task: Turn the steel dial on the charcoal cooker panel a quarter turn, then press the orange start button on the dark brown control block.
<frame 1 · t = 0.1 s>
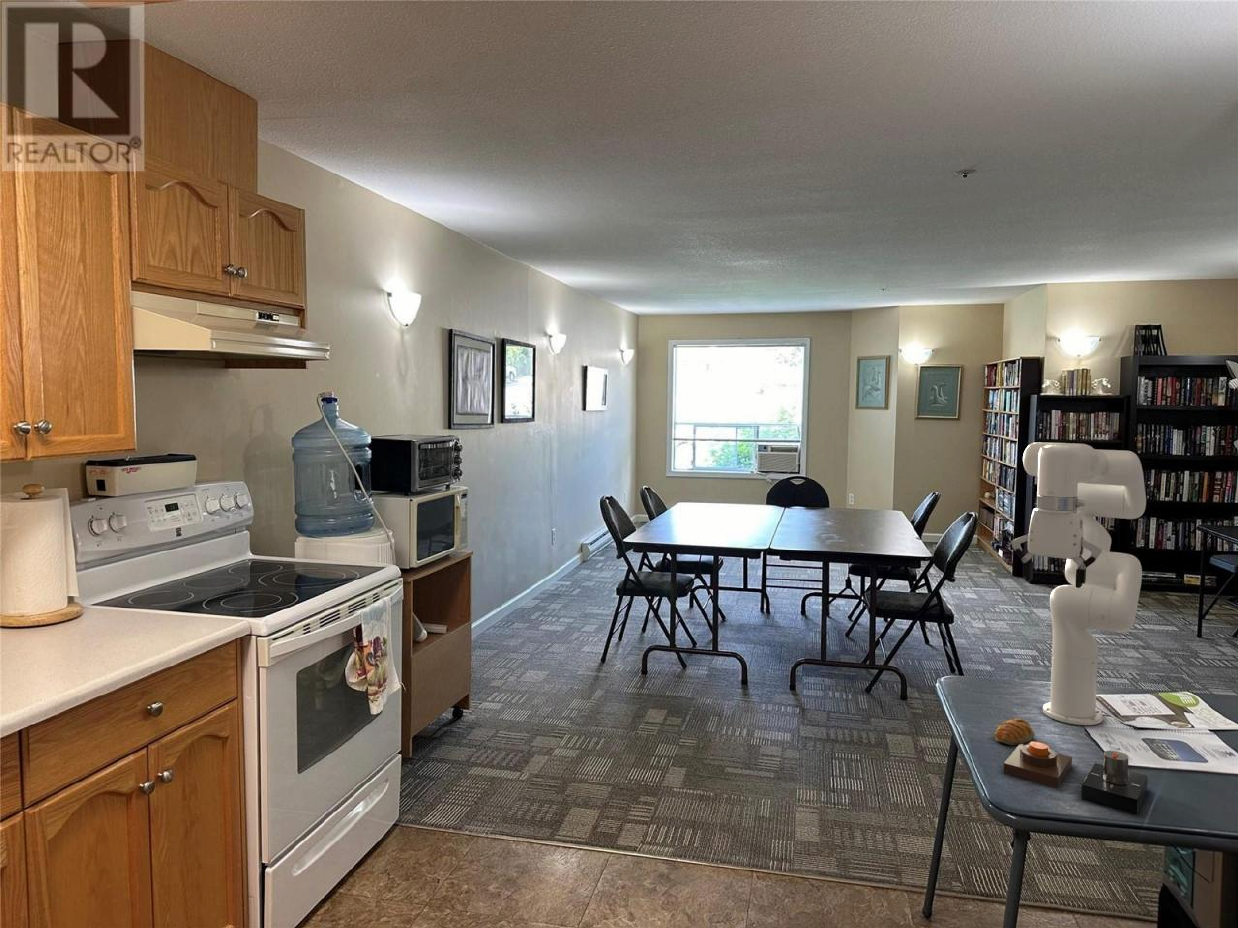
hand: (1053, 583, 174), 37 cm above the table, tool pointing down, fingers open, 9 cm apart
dial panel: (1114, 795, 157), on the table
start button: (1038, 749, 167), point 4 cm above the table, slide at 0.1 cm
dial: (1115, 766, 157), point 6 cm above the table, hinge at 0.0°
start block: (1037, 770, 168), on the table
pastry: (1013, 739, 183), on the table
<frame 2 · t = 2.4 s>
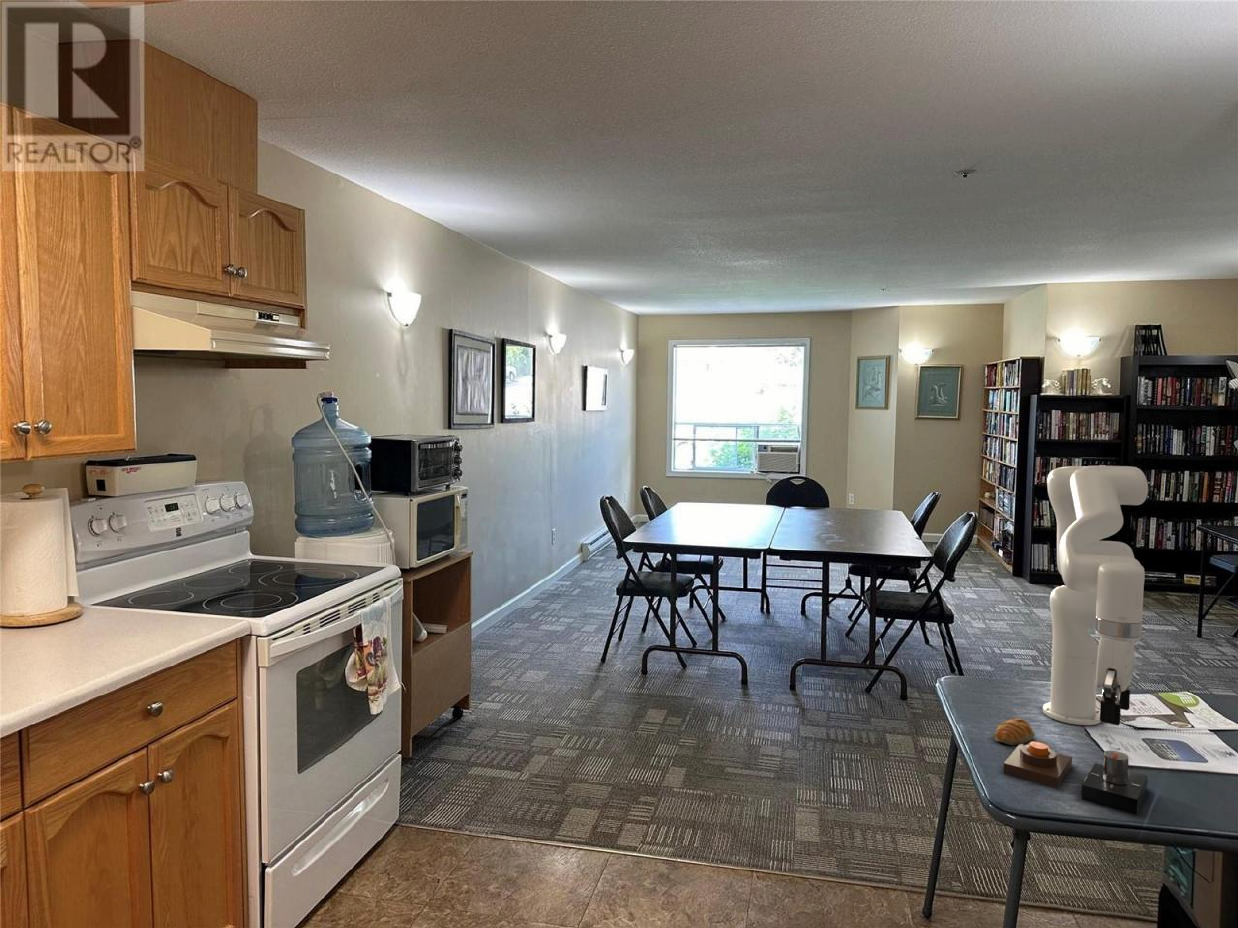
hand: (1114, 715, 157), 16 cm above the table, tool pointing down, fingers open, 9 cm apart
nothing on the table moved.
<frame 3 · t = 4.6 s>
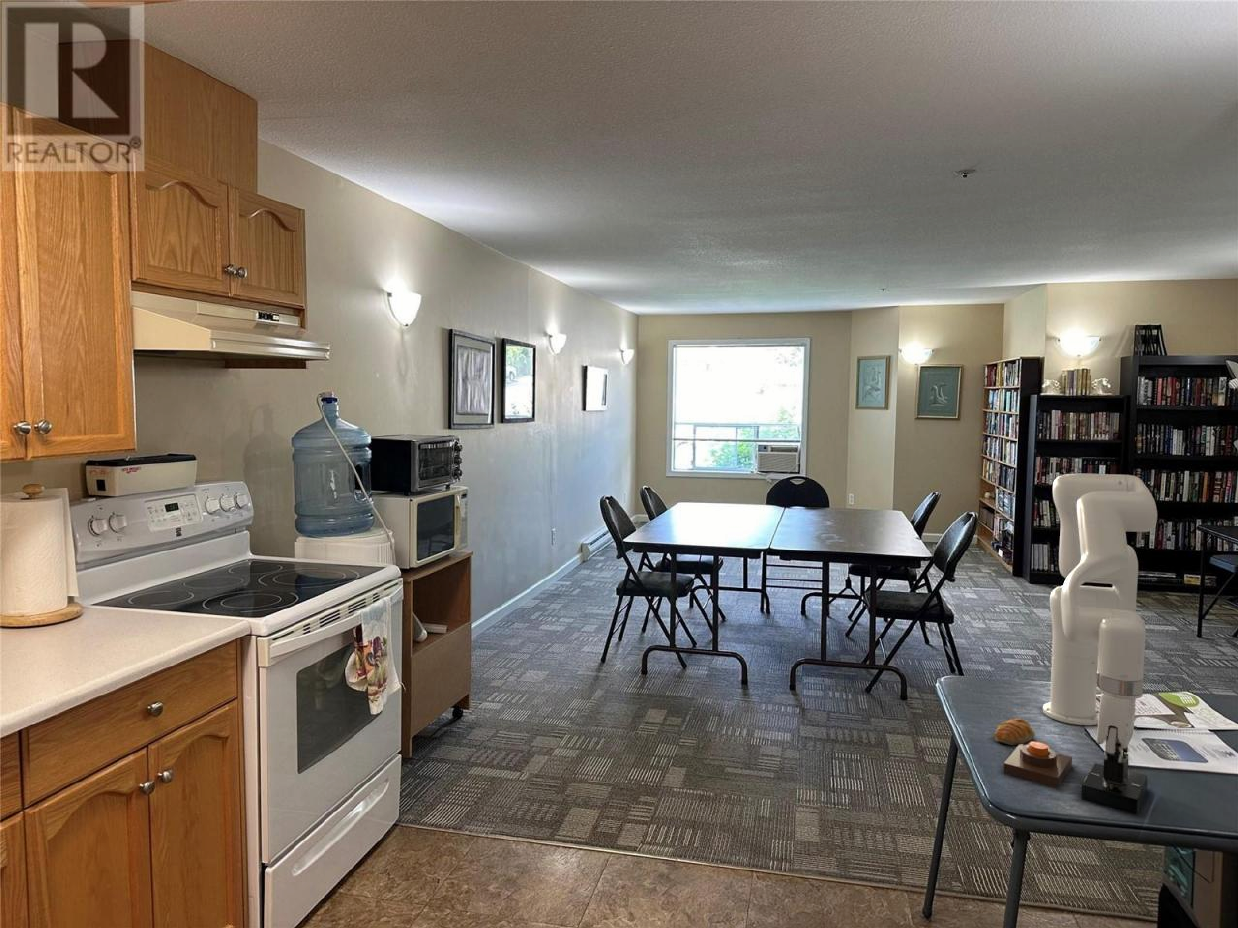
hand: (1115, 775, 157), 4 cm above the table, tool pointing down, fingers closed on dial, 4 cm apart
dial: (1115, 766, 157), point 6 cm above the table, hinge at -0.1°, touching gripper
everything else where it was.
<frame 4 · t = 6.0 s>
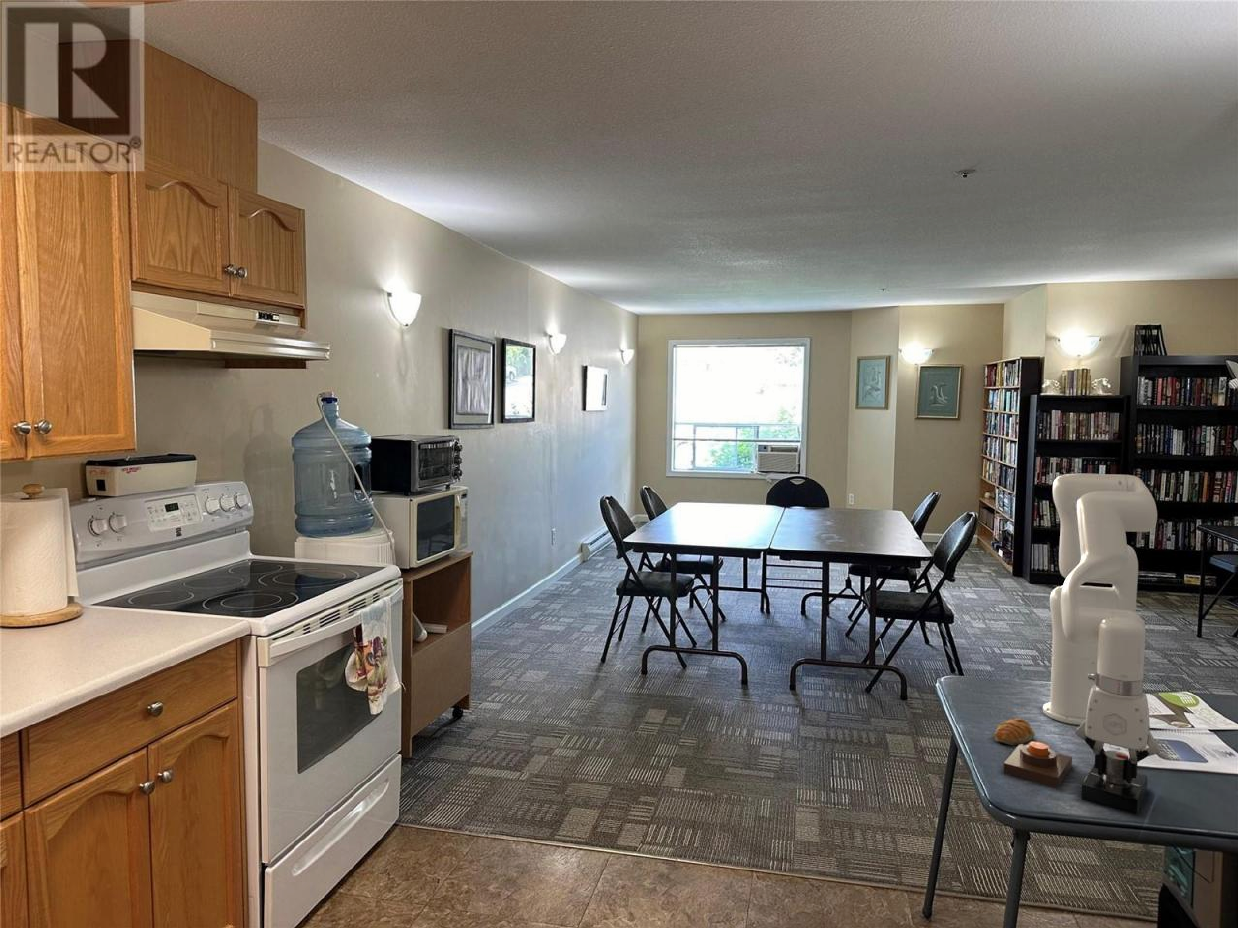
hand: (1115, 775, 157), 4 cm above the table, tool pointing down, fingers closed on dial, 4 cm apart
dial: (1115, 766, 157), point 6 cm above the table, hinge at 90.0°, touching gripper
everything else where it was.
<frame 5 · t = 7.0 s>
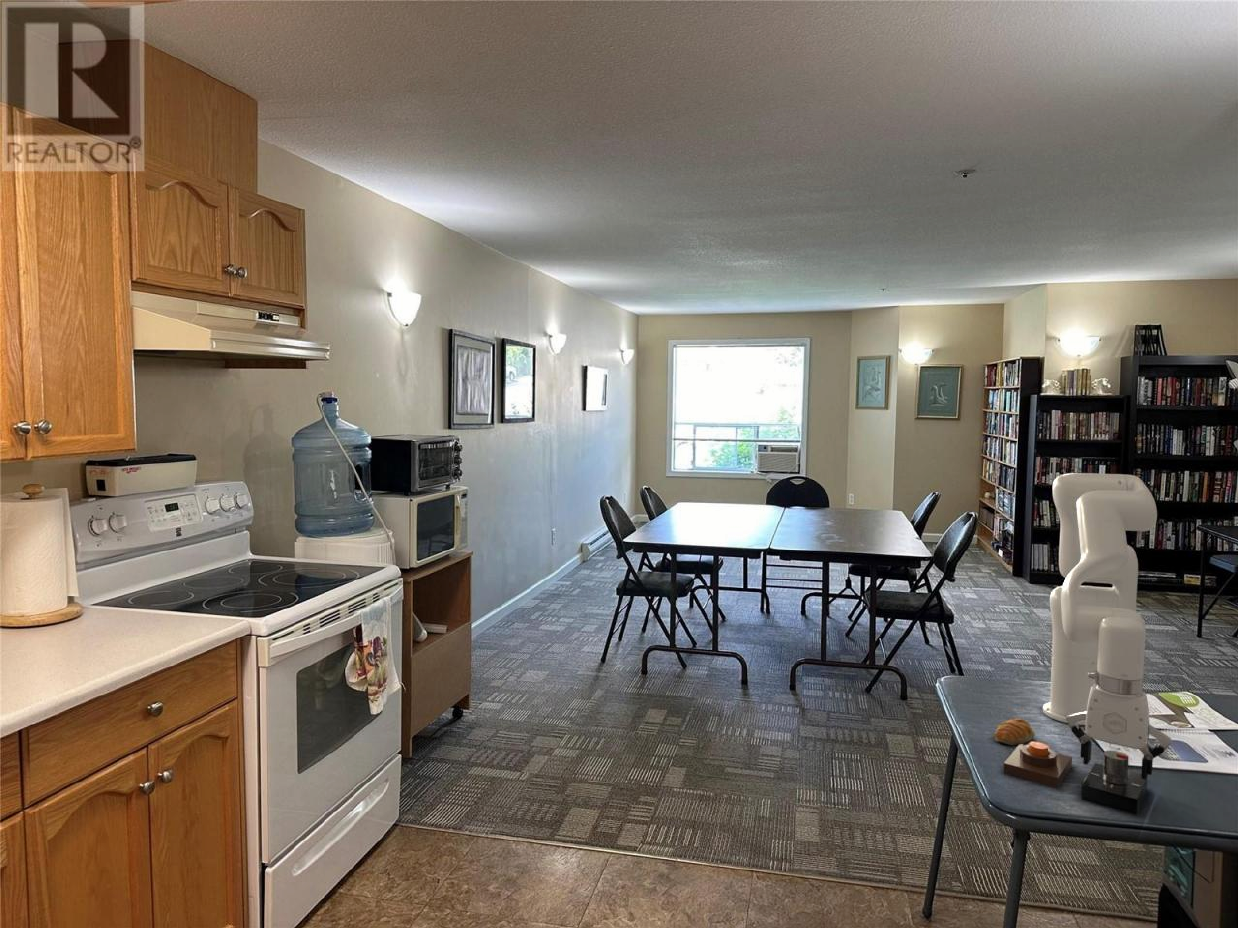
hand: (1115, 769, 157), 5 cm above the table, tool pointing down, fingers open, 9 cm apart
dial: (1115, 766, 157), point 6 cm above the table, hinge at 91.5°
everything else where it was.
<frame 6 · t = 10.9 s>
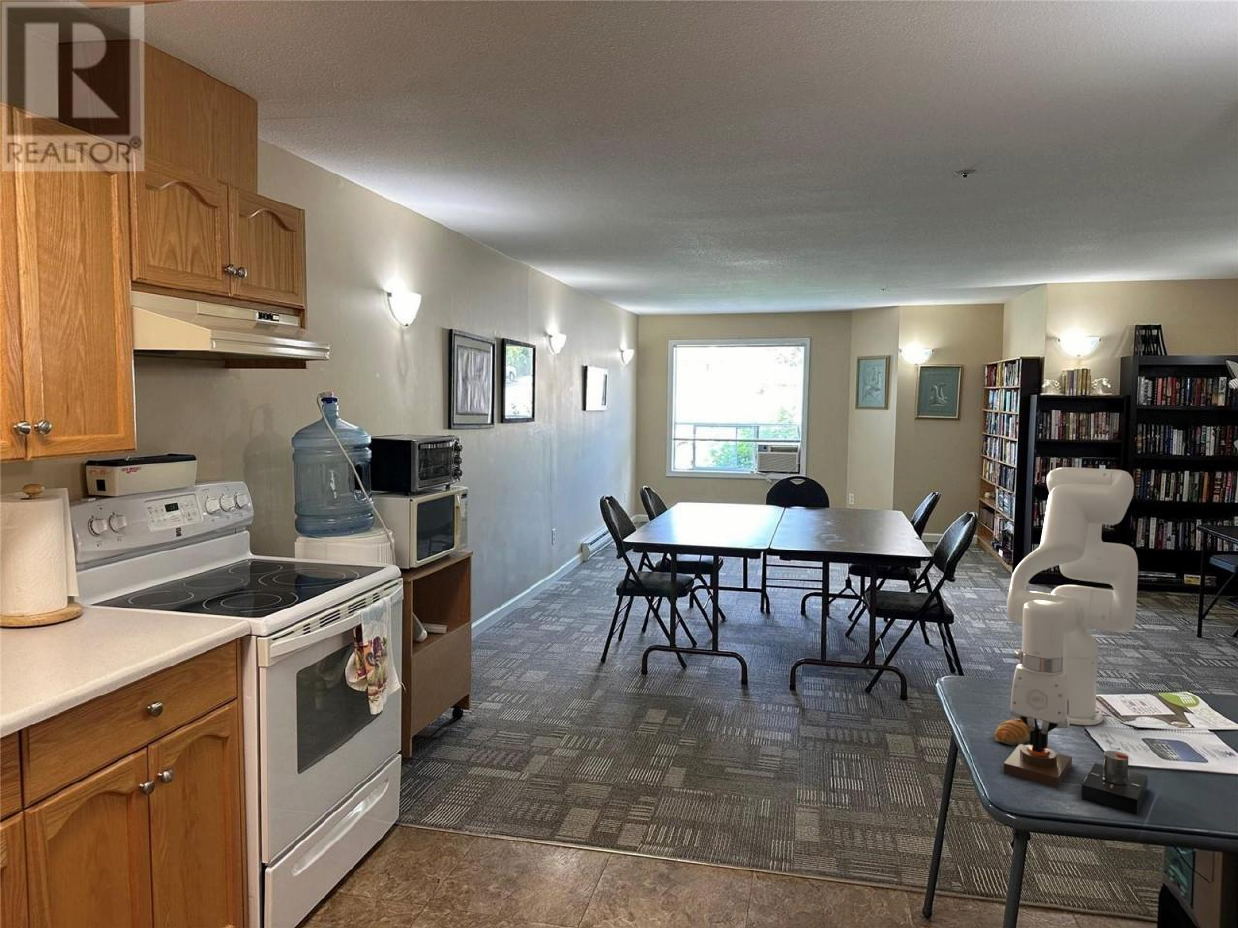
hand: (1038, 749, 167), 5 cm above the table, tool pointing down, fingers closed
start button: (1038, 753, 168), point 4 cm above the table, slide at -0.8 cm, touching gripper
everything else where it was.
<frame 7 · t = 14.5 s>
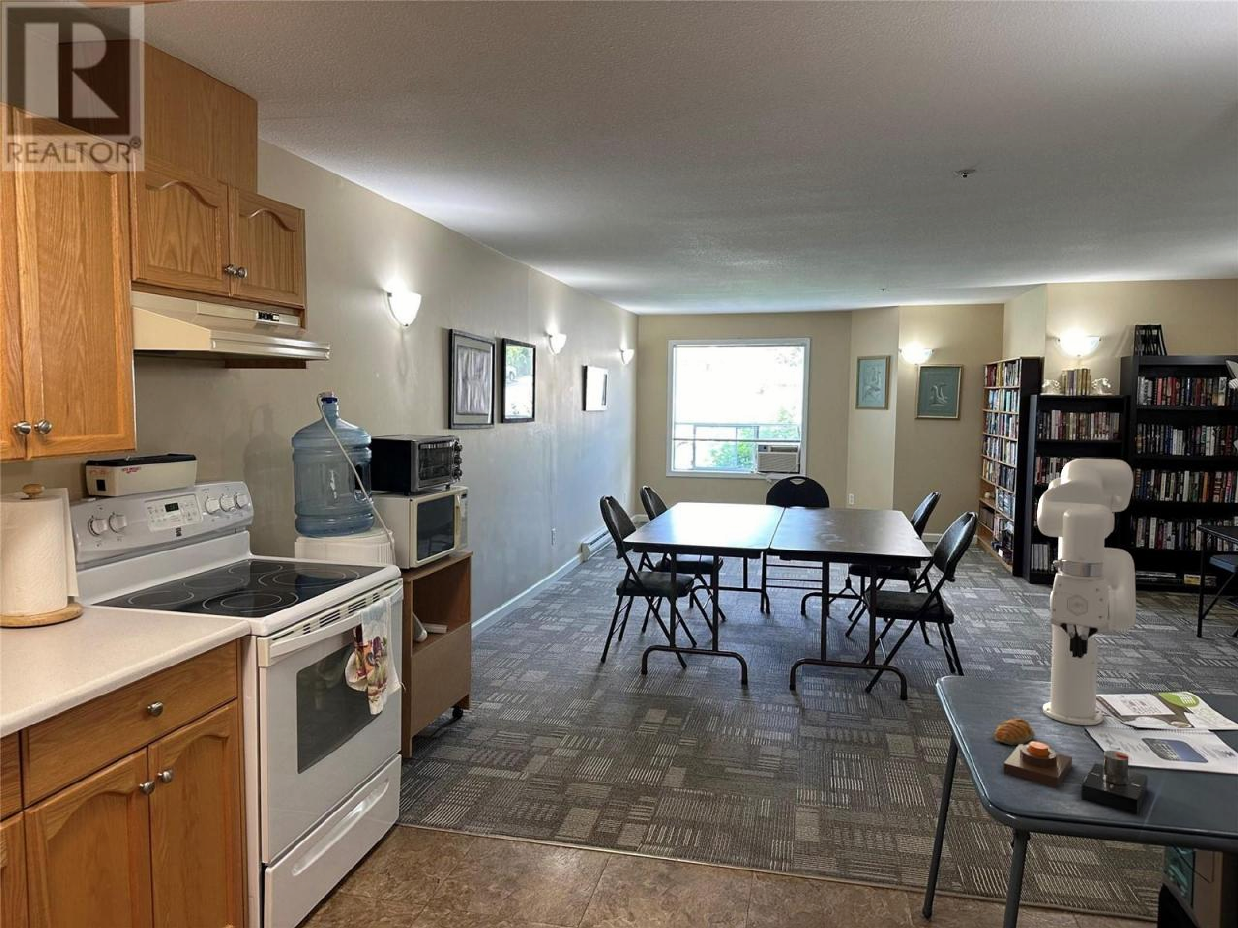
hand: (1078, 655, 169), 23 cm above the table, tool pointing down, fingers closed
start button: (1038, 749, 167), point 4 cm above the table, slide at 0.1 cm
everything else where it was.
at the end: dial at +92° (first picture: +0°); start button pushed in 1.1 cm at the most during the clip and back out by the end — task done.
